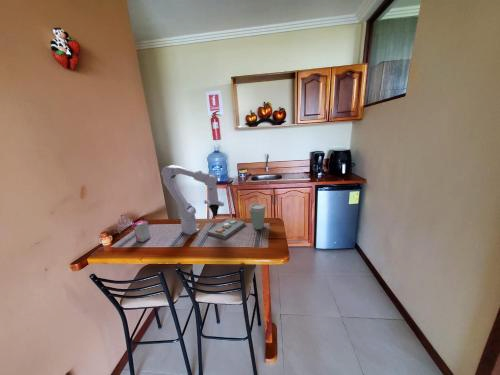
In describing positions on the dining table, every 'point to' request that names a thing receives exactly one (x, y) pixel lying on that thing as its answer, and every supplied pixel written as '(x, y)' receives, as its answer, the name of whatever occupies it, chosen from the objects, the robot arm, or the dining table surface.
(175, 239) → the dining table surface
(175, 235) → the dining table surface
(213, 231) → the button panel
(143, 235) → the supplement box
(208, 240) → the dining table surface
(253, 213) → the disposable coffee cup
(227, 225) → the ivory button
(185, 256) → the dining table surface
